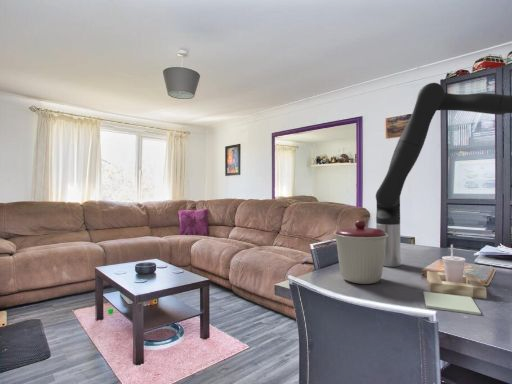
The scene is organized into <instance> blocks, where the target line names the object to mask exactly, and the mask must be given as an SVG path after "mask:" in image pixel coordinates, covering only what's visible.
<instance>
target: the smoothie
mask: <svg viewBox="0 0 512 384" xmlns="http://www.w3.org/2000/svg"><path fill="white" fill-rule="evenodd" d="M441 261H442V263H443V271H444V273H445V277H446V281H447V282H457V283H462V278H463V274H464V269H465V264H466V263H467V261H466V258H465V257H460V256H454V244H450V255H446V256H445V255H444V256H442V257H441Z"/></svg>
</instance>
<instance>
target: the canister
mask: <svg viewBox="0 0 512 384" xmlns="http://www.w3.org/2000/svg"><path fill="white" fill-rule="evenodd" d="M333 235H334V236H335V241H336V249H337V256H338V257H337V259H338V264H339V271H340V275H341V277H342V278H343V279H344V280H346V282H350V283H354V284H360V285H371V284H376V283H378V282H379V281H380V280H381V279H382V276H383V270H384V266H383V263H384V254H385V245H386V237H388V234H387V233H385V232H384V231H382V230H380V229H376V227H375V228H374V227H367V226H366V222H365V221H364V220H363V219H361V220H360V219H359V220H356V221H355V223H354V227H353V226H352V227H343V228H342V227H341V228H339V229H337V230H336V231H333Z"/></svg>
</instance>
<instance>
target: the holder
mask: <svg viewBox="0 0 512 384" xmlns="http://www.w3.org/2000/svg"><path fill="white" fill-rule="evenodd" d="M426 280H427V284H428V288H429V292H431V293H440V294H449V295H457V296H466V297H471V298H476V299H484V300H486V299H487V287H486V286H485V285H484V284H483V282H482V281H481V280H480V279H479V277H477V275H473V274H464V273H463V278H462V283H457V282H447V281H446V277H445V272H441V271H440V272H439V271H428V270H427V271H426Z"/></svg>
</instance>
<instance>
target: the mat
mask: <svg viewBox="0 0 512 384" xmlns="http://www.w3.org/2000/svg"><path fill="white" fill-rule="evenodd" d="M423 298H424V302H425V306H426V307H425V308H427V309H432V310H433V309H434V310H440V311H441V310H442V311H448V312H453V313H454V312H456V313H462V314H469V315H470V314H471V315H477V316H482V312H481V310H480V309H479V307H478V306H477V305H476V303H475V301H474V300H473V297H466V296H457V295H449V294H440V293H432V292H430V291H423Z"/></svg>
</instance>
